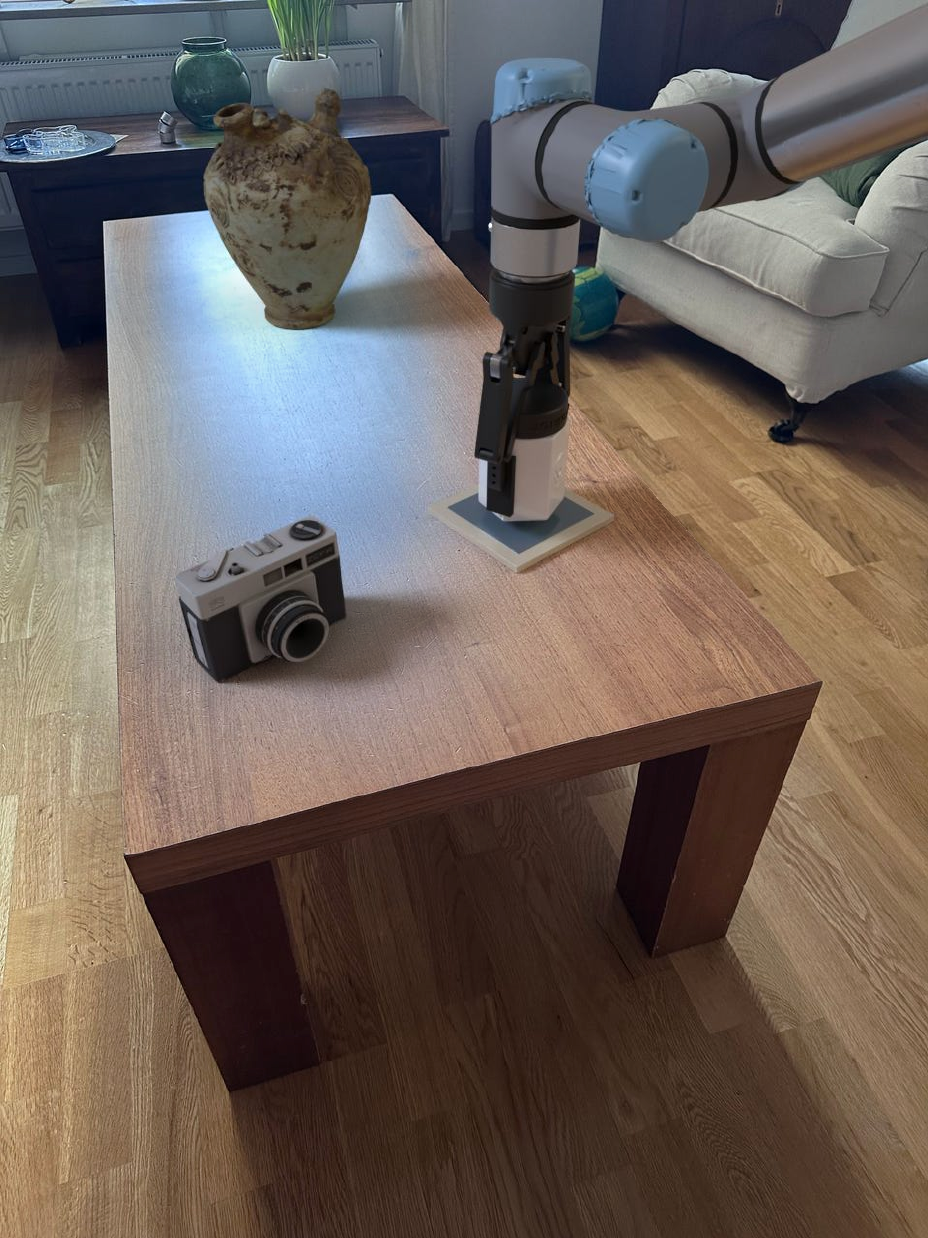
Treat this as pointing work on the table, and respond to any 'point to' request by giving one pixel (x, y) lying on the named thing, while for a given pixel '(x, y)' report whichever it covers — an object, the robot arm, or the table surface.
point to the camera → (264, 599)
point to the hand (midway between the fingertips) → (521, 489)
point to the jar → (537, 454)
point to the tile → (520, 527)
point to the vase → (289, 206)
